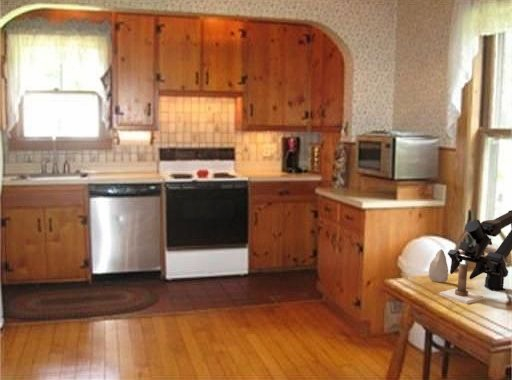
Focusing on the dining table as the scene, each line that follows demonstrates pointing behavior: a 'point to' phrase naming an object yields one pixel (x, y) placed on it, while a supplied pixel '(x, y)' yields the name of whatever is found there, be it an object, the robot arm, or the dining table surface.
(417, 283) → the dining table surface
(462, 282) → the tamper
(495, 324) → the dining table surface
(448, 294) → the tile
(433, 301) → the dining table surface
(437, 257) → the stone tool
